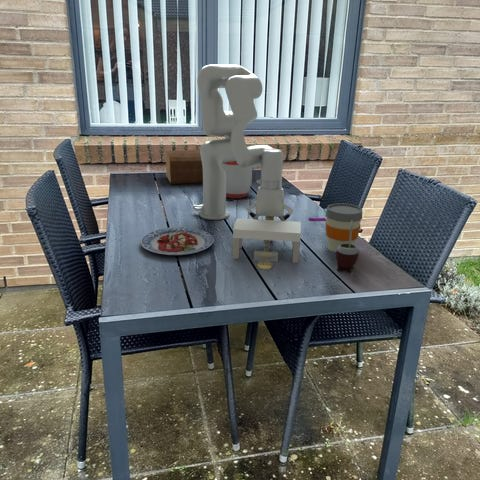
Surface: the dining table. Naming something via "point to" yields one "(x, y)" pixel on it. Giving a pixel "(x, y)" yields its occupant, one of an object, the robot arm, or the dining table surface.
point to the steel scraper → (266, 250)
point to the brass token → (264, 265)
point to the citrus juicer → (237, 180)
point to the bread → (184, 166)
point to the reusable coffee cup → (342, 224)
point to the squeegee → (318, 218)
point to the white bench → (266, 233)
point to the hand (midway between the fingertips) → (268, 229)
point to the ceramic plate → (177, 241)
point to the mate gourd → (346, 255)
